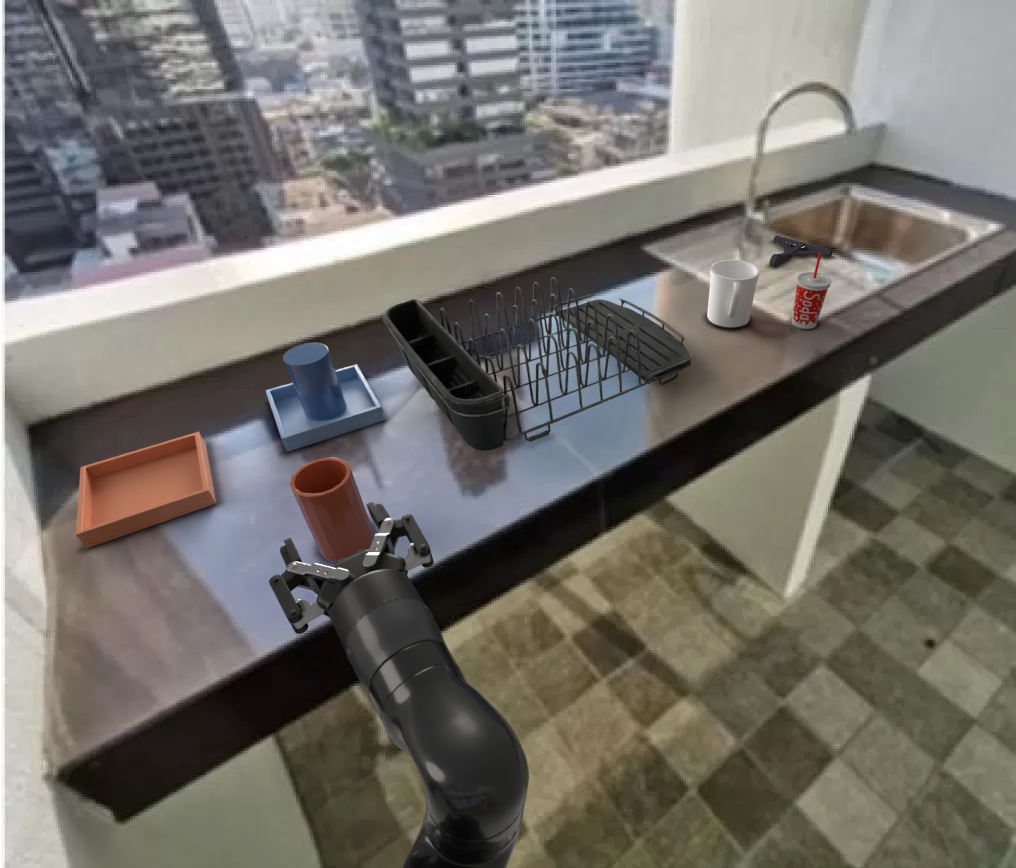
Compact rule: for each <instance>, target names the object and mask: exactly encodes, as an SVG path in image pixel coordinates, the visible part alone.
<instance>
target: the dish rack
mask: <svg viewBox="0 0 1016 868" xmlns="http://www.w3.org/2000/svg"><path fill="white" fill-rule="evenodd" d="M549 281H550V283H549V284H550V296H549V313H548V315H546V309H545V302H544V294H543V289H542V286H541V284H540V283H539V282H538V281H534V282H533V283H532V284H533V285H532V300H531V318H529V319H528V314H527V307H526V306H527V305H526V301H525V294H524V291H523V289H522V288H521V287H520V286H516V287H515V288H514V289H515V290H514V295H515V296H514V297H515V298H514V299H515V302H514V303H515V304H514V305H512V308H511V310H512V311H511V314H512V326H510V323H509V317H508V311H507V305H506V300H505V297H504V295H503V294H502V293H501V292H500V291H499V292H496V295H495V298H496V299H495V300H496V301H495V302H496V315H497V316H496V317H497V329H498V330H497V331H495V327H494V323H493V320H492V318H491V316H490V315H489V314H488V313H485V314H484V316H483V319H484V321H483V322H484V334H483V331H482V325H481V321H480V317H479V311H478V307H477V304H476V302H475V301H474V300H473V299H470V300H468V309H469V318H470V328H471V336H472V338H468V339H467V340H465V337H464V332H463V330H462V327H461V325H460V324H459V323H458V321H457V322H454V324H453V330H454V336H455V338H454V337H453V332H452V328H451V324H450V319H449V316H448V313H447V311H446V309H445V308H444V307H440V308H439V316H440V323H441V324H440V323H439V321H438V320H436V319H435V317H434V316H433V315H432V314H431V313H430V311H428V309H426V307H425V306H424V305H423V304H422V301H421V300H419V299H417V298H416V299H414V298H412V299H409V300H405V301H402V302H399V303H395V304H394V305H392V306H390V307H389V308H387V309H386V310H385V311H384V312H383V315H382V321H383V323H384V324H385V326H386V327H387V328H388V330H389V332H390V334H391V335H392V336H393V338H394V339H395V340H396V344H397V346H398V349H399V351H400V353H401V356H402V358H403V360H404V362H405V365H406V366H407V367H408V369H409V370H410V372H411V373H412V375H413V376H414V377H415V378H416V380H417V381H418V382H419V383H420V385H421V387H423V389H424V390H425V391H426V393H427V394H428V396H430V398H431V399H432V400H433V401H434V402H435V405H436V406H437V407H438V408H439V409H440V411H441V412H442V413H443V415H444V416H445V418H446V419H447V420H448V422H450V424H451V425H452V426H453V427H454V428H455V430H456V432H457V433H458V434H459V435H460V437H461V438H462V439H463V440H464V442H465V443H466V444H467V445H468V447H469V446H470V448H472V449H474V450H477V451H482V452H487V451H493V450H497V449H500V448H502V447H504V442H509V441H511V440H514V439H517V438H519V437H521V436H524V439H525V441H526V442H529V443H531V442H533V441H537V440H539V439H542V438H544V437H546V436H550V432H551V431H552V430H551V429H552V428H551V425H552V424H555V423H558V422H560V421H562V420H565V419H567V418H570V417H572V416H575V415H577V414H579V413H582V412H585V411H586V410H589V409H591V408H594V407H596V406H598V405H601V404H603V403H606V402H608V401H610V400H613V399H615V398H618V397H621V396H623V395H625V394H627V393H629V392H632V391H634V390H636V389H639V388H642V387H644V386H646V385H650V384H651V383H653V382H656V381H658V385H659V386H665V385H668V384H669V383H671V382H673V381H676V380H677V379H678V377H679V372H682V371H683V370H686V369H687V368H690V367H692V361H693V356H691V354H690V352H689V350H688V349H687V348H686V346H685V345H684V340H685V336H684V335H683V334H682V333H680V332H679V331H678V330H676V329H675V328H674V327H672V326H671V325H670V324H668V323H667V322H665V321H664V320H662V319H661V318H659V317H658V316H656V315H655V314H653V313H651V312H649V311H648V310H646V309H644V308H642V307H641V306H638V305H637V304H634V303H632V302H630V301H628V300H626V299H623V298H621V297H619V298H618V300H620V302H621V303H620V305H619V304H617V303H614V302H612V301H610V300H606V299H600V298H598V299H594V300H587V301H586V302H584V303H581V304H579V301H582V300H585V299H588V298H592V297H594V296H595V295H596V294H595V293H590V294H587V295H584V296H579V297H578V293H577V292H576V290H575V289H574V288H572V287H570V288H569V289H568V292H567V300H566V301H562V298H561V297H562V296H561V290H560V283H559V280H558V279H557V278H556V277H555V276H552V277H551V278H550V280H549ZM554 282H555V284H556V286H557V295H556V294H555V293H554ZM536 285H537V288H538V289H539V293H540V303H539V301H538V300H537V299H536ZM518 291H519V293H520V294H521V300H522V309H523V315H524V321H525V322H523V318H522V313H521V309H520V308H519V305H518V298H519V297H518ZM571 292H572V293H573V295H574V298H573V299H571ZM499 297H500V299H501V301H502V306H503V310H504V316H505V318H504V319H505V323H506V327H505V328H501V315H500V301H499V300H500V299H499ZM554 299H555V302H556V304H555V305H554ZM574 302H575V305H574V306H571V303H574ZM624 304H627V305H629V306H631V307H632V308H634V309H636V310H638V311H640V312H641V313H642V314H640V313H638V312H637V311H635V310H632V309H631V308H629V307H626V306H624ZM472 305H473V307H472ZM565 305H566V306H567V307H566V308H563V306H565ZM472 308H474V311H475V316H476V322H477V326H478V327H477V328H478V331H479V336H478V337H477V336H476V337H475V326H474V317H473V309H472ZM536 308H537V310H538V318H537V316H536V315H537V314H536V311H537V310H536ZM554 312H555V313H554ZM645 314H646V315H647V316H649V317H650V318H652V319H654V320H656V321H657V322H658V323H660V324H661V326H660V325H659V324H657V323H656V322H654V321H653V320H651V319H649V317H646V316H645ZM542 315H543V316H542ZM444 318H445V320H444ZM487 319H488V320H489V323H490V330H491V332H490V333H488V320H487ZM547 319H548V320H547ZM553 319H554V320H555V325H556V326H555V327H556V332H553V329H552V328H553V327H552V325H553V323H552V322H553ZM547 321H548V323H547ZM445 322H446V328H447V329H446V328H445ZM537 322H539V326H540V330H539V327H538V324H537ZM543 322H544V323H543ZM543 324H544V325H543ZM524 326H526V332H527V338H528V341H526V339H525V333H524V331H525V330H524ZM570 326H571V327H570ZM519 328H520V333H521V340H522V343H521V342H520V343H518V344H516V329H519ZM665 328H666V329H668V330H670V331H671V332H672V333H674V334H675V335H676V336H678V337H679V338H680V340H679V339H677V338H676V337H675V336H674V335H673V334H671V333H670V332H669V331H667V330H666V329H665ZM544 329H545V333H546V335H545V333H544ZM511 330H512V334H511ZM458 331H459V334H458ZM539 331H540V332H539ZM552 332H553V333H552ZM564 332H566V334H565V335H566V336H565V341H564ZM571 332H573V334H574V337H575V344H573V345H570V343H571V341H570V339H571ZM535 333H536V338H535ZM497 334H498V335H499V350H498V345H497V340H496V335H497ZM503 335H504V337H505V339H506V345H507V347H506V348H504V344H503ZM540 335H541V336H540ZM555 335H557V339H556V338H555ZM582 335H583V337H582ZM459 336H460V340H461V341H459ZM489 337H492V340H493V348H494V351H493V352H490V351H489V350H490V349H489ZM545 338H546V340H545ZM484 339H485V341H484ZM551 340H552V341H553V343H554V347H555V351H553V352H551ZM476 341H480V342H481V346H482V351H483V353H484V355H480V354H479V349H478V346H477V344H476ZM536 341H537V347H538V356H537V357H534V358H532V343H533V342H536ZM541 342H542V344H541ZM590 342H593V343H590ZM589 343H590V344H589ZM466 344H468V347H467V346H466ZM526 344H528V352H527V345H526ZM584 344H585V350H584V359H583V353H582V345H584ZM595 344H596V345H595ZM542 347H543V352H542ZM574 347H576V354H575V353H574V352H573V351H571V350H570V349H571V348H574ZM592 347H593V349H594V350H595V353H596V357H594V358H593V359H591V350H592V349H591V348H592ZM473 348H474V352H475V356H476V357H475V358H474V354H473ZM515 348H516V363H517V364H514V361H513V354H512V349H515ZM600 348H601V349H602V352H601V349H600ZM520 350H521V351H522V353H523V355H524V360H525V361H523V362H521V358H520V357H521V356H520V355H521V354H520ZM505 351H507V352H508V357H509V364H510V366H508V367H505V365H504V364H505V363H504V352H505ZM564 351H566V355H565V363H564V359H563V358H564V357H563V352H564ZM499 353H500V354H499ZM543 353H544V354H543ZM492 355H495V359H496V364H497V368H498V370H496V367H495V363H494V361H493V359H492V357H490V356H492ZM499 355H500V356H499ZM551 355H555V358H556V366H557V367H556V368H557V371H556V372H553V373H551V374H550V373H549V372H550V368H549V365H550V356H551ZM570 356H572V358H573V360H574V365H572V366H570ZM610 356H611V357H612V358H614V359H615V360H616V367H617V370H618V371H617V372H618V373H614V374H613V375H610V376H607V375H608V367H609V361H610V360H609V358H610ZM499 357H500V358H499ZM545 357H546V360H545V361H546V363H545V365H544V359H543V358H545ZM483 358H484V368H485V369H484V368H483V367H482V361H481V359H483ZM602 358H605V365H604V373H603V375H602V369H601V368H602V367H601V359H602ZM537 360H539V361H537ZM534 361H537V362H536V364H535V379H534V380H532V378H531V370H530V364H529V363H531V362H534ZM594 361H596V362H597V377H598V378H597V379H598V380H597V381H593V382H592V383H589V384H588V381H589V370H590V363H592V362H594ZM489 363H490V368H491V371H492V372H489ZM564 364H565V365H564ZM522 365H525V367H526V375H527V380H528V381H527V382H526V383H524V384H521V366H522ZM583 365H586V367H585V376H584V383H583V375H582V366H583ZM504 367H505V368H504ZM516 367H517V370H516V371H517V378H516V372H515V368H516ZM561 368H562V369H561ZM574 368H575V372H576V374H575V375H576V382H577V388H576V389H574V390H570V391H568V390H569V370H572V369H574ZM510 369H511V374H512V378H511V377H510V375H509V374H506V373H505V374H503V375H502V382H503V383H502V384H503V387H502V386H501V385H500V384H499V382H498V377H497V374H498V373H501V372H504V371H507V370H510ZM539 369H540V370H539ZM539 371H541V374H542V377H539V376H540V373H539ZM630 371H631V372H632V374H634V375H636V376H637V379H638V384H637V385H635V386H632V387H630V388H627V389H625V390H623V376H622V374H624V373H627V372H630ZM564 372H565V378H564V379H565V380H564V389H563V381H562V373H564ZM673 374H675V375H674V376H673V377H670V378H668V379H666V380H664V381H662V380H663V379H665V378H666V377H668V376H672V375H673ZM555 375H558V383H559V390H560V393H561V395H558V396H555V397H552V398H551V393H550V385H549V378H550V377H553V376H555ZM492 376H493V377H492ZM613 377H617V378H618V387H619V392H618V393H615V394H612V395H610V396H607V397H606V398H604V397H603V396H604V394H603V393H604V392H603V382H604V381H607V380H609V379H612V378H613ZM516 379H517V380H516ZM543 380H544V384H545V385H544V386H545V389H546V391H545V392H546V399H547V400H544V401H542V402H540V400H539V399H540V398H539V392H540V389H539V388H540V384H539V383H540V381H543ZM507 381H508V383H509V389H508V386H507ZM642 381H643V382H642ZM534 383H535V398H534V392H533V385H532V384H534ZM596 384H598V388H599V400H598V401H595V402H592V403H591V404H588V405H586V406H584V405H583V394H582V390H583V389H586V388H588V387H591V386H594V385H596ZM526 386H528V388H529V395H530V401H531V404H532V405H531V406H529V407H526V408H523V409H521V410H519V408H518V402H517V395H516V390H517V389H520V388H524V387H526ZM509 392H511V397H510V395H509V394H508V393H509ZM576 392H578V394H577V395H578V402H579V407H580V408H578V409H576V410H574V411H571V412H568V413H566V414H563V415H561V416H559V417H557V418H554V416H553V406H552V401H555V400H559V399H560V398H561V399H562V398H563V397H566V396H568V395H571V394H573V393H576ZM511 398H512V402H513V407H514V412H513V413H511V414H510V409H511V404H510V401H511ZM503 401H504V402H503ZM503 403H504V405H503ZM545 404H547V406H548V413H549V420H547V421H546V422H544V423H542V424H538V425H535V426H533V427H531V428H528V429H526V430H522V426H521V419H520V414H522V413H524V412H527V411H529V410H532V409H534V408H537V407H541V406H543V405H545ZM514 416H515V418H516V425H517V430H518V432H517V433H516V434H513V435H511V436H508V426H509V418H513V417H514ZM545 427H547V430H543V431H541V432H540V433H537V434H533V435H531V436H528V435H527V434H529V433H532V432H534V431H537V430H540V429H542V428H545Z"/></svg>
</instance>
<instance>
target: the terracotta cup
mask: <svg viewBox="0 0 1016 868" xmlns="http://www.w3.org/2000/svg"><path fill="white" fill-rule="evenodd" d="M289 486H290V489H291V492H292V494H293V496H294V499H295V500H296V503H297V505H298V507H299V510H300V512H301V514H302V516H303V518H304V520H305V523H306V526H307V528H308V529H309V531H310V533H311V535H312V538H313V540H314V542H315V544H316V547H317V548H318V550H319V553H320V554H321V556H322V557H323V558H324V559H325V560H327V561H329V562H332V563H334V562H336V561H338V560H340V559H343V558H347V557H350V556H351V555H353V554H354V553H356V552H357V551H359V550H361V549H363V548H365V550H368V549H370V546H371V544H372V541H373V539H374V536H375V532H374V529H373V526H372V524H371V521H370V518H369V515H368V512H367V509H366V507H365V504H364V501H363V499H362V495H361V493H360V490H359V488H358V485H357V482H356V479H355V476H354V474H353V471H352V468H351V465H350V464H349V462H347V461H345V460H344V459H342V458H338V457H323V458H318V459H316V460H311V461H309V462H307V463H306V464H304V465H302V466H300V467H299V468H298V469H297V470H296V471H295V472H294V473H293V474H292V475H291V479H290V482H289Z"/></svg>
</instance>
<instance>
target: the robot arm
mask: <svg viewBox="0 0 1016 868" xmlns="http://www.w3.org/2000/svg"><path fill="white" fill-rule="evenodd" d="M365 505H366V508H367V510H368V513H369V515H370V518H371V519H372V521H373V523H374V524H375V526H376V528H377V529H378V532H377V533H374V539H373V541H372V544H371V546H370V548H369V549H368V550H365V548H363V549H361V550H359V551H357V552H356V553H354V554H353V555H351V556H350V557H347V558H343V559H340V560H338V561H336V562H332V564H333V565H332V566H329V565H324V564H320V563H317V562H313V563H312V564H309V563H305V562H304V561H303V560H302V558H301V556H300V553H299V552H298V550H297V547H296V545H295V543H294V542H293V541H294V540H293V539H292V537H288V538H286V539H283V542H284V545H283V546H280V548H279V553H280V556H281V557H282V560H283V563H284V565H285V567H286V568H285V570H284V572H283V573H281V574H275V575H272V576H271V577H270V578H269V579H268V583H269V586H270V588H271V591H272V592H273V593H274V595H275V598H276V600H277V602H278V604H279V606H280V608H281V610H282V611H283V613H284V615H285V617H286V619H287V621H288V623H289V624H290V626H291V628H292V630H293V632H294V633H295V634H297V635H302V634H304V633H305V632H307V631H308V629H309V623H310V622H312V621H314V620H315V619H317V618H319V617H321V616H322V615H323V616H325V617H328V618H329V619H330V620H331V623H332V625H333V628H334V630H335V632H336V634H337V636H338V639H339V641H340V643H341V645H342V647H343V649H344V652H345V654H346V659H347V661H348V662H349V664H350V665H351V666H352V669H353V671H354V673H355V675H356V677H357V679H358V681H359V683H360V684H361V685H362V686H363V688H364V689H365V691H366V692H367V694H368V696H369V698H370V700H371V702H372V704H373V707H374V709H375V711H376V713H377V716H378V717H379V719H380V721H381V723H382V725H383V727H384V729H385V732H386V734H387V735H388V737H389V739H390V740H391V741H392V742H393V743H394V745H395V746H396V747H398V748H399V749H400V750H401V751H404V752H407V753H409V756H410V757H411V759H412V761H413V763H414V765H415V767H416V770H417V771H418V774H419V775H420V778H421V782H422V785H423V788H424V791H425V815H424V818H423V820H422V823H421V825H420V828H419V831H418V833H417V835H416V837H415V839H414V842H413V844H412V845H411V848H410V849H409V851H408V853H407V855H406V857H405V859H404V861H403V863H402V865H401V866H400V868H508V864H509V862H510V859H511V857H512V854H513V851H514V848H515V846H516V843H517V840H518V837H519V833H520V831H521V827H522V823H523V817H524V813H525V811H524V810H525V805H526V801H527V795H528V788H529V782H530V781H529V780H530V772H529V764H528V759H527V756H526V753H525V750H524V748H523V746H522V743H521V741H520V740H519V737H518V735H517V734H516V732H515V730H514V729H513V727H512V726H511V725H510V723H509V722H508V721H507V719H506V718H505V717H504V715H502V714H501V712H500V711H499V710H498V709H496V707H495V706H494V705H493V704H492V703H491V702H490V701H489V700H488V699H486V697H485V696H484V695H483V694H482V693H481V692H479V690H477V689H476V688H475V687H474V686H472V685H471V684H470V683H469V682H468V679H467V678H466V675H465V673H464V672H463V670H462V669H461V667H460V666H459V664H458V662H457V660H456V659H455V658H454V656H453V654H452V653H451V651H450V649H449V647H448V646H447V644H446V643H447V642H445V639H444V635H443V633H442V631H441V629H440V627H439V625H438V623H437V621H436V620H435V618H434V614H433V612H432V611H431V609H430V608H429V607H428V606H426V604H425V602H424V600H423V598H422V597H421V595H420V593H419V592H418V590H417V588H416V587H415V586H414V584H413V582H412V580H411V579H410V577H409V576H408V574H409V571H410V570H413V569H415V568H417V567H419V566H421V567H423V568H424V569H428V568H431V567H432V566H433V565H434V564H435V561H434V557H433V553H432V550H431V547H430V545H429V542H428V540H427V539H426V537H425V535H424V533H423V532H422V530H421V528H420V527H419V525H418V523H417V521H416V519H415V517H414V516H413V515H412V514H411V513H406V514H403V515H402V516H401V518H399V519H394V518H393V517H391V516H390V514H389V512H388V511H387V509H386V508H385V506H384V505H383V504H382V503H380V502H378V503H376V504H375V502H374V501H373V500H371V501H369V502H367V503H365ZM402 537H406V538H407V540H408V542H409V547H408V548H407V555H406V556H405V557H402V556H400V555H397V554H396V548H397V545H398V542H399V539H400V538H402ZM296 588H302V589H305V590H309V591H312V592H313V593H314V594H315V595H317V596H316V602H313V603H312V602H311V603H310V602H308V601H307V600H305V599H301V598H297V599H295V597H294V595H293V594H292V592H293V590H295V589H296Z"/></svg>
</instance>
